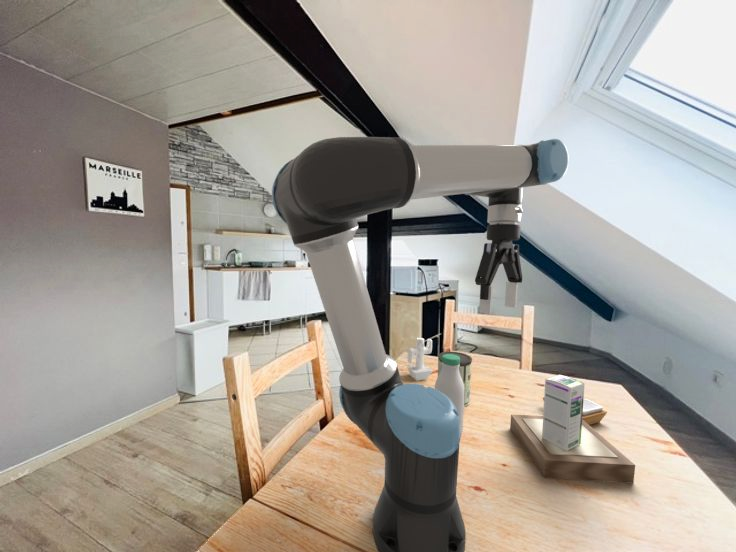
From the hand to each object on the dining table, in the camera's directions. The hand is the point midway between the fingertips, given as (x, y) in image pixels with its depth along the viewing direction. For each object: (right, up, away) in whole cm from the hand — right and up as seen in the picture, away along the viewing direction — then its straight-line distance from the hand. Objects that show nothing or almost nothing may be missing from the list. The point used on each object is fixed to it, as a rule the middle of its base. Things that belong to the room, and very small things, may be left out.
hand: (498, 310), depth 78 cm
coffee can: (-6, -31, +21) cm, 38 cm away
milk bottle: (-12, -32, +5) cm, 35 cm away
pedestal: (+14, -34, -4) cm, 36 cm away
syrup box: (+11, -30, -6) cm, 32 cm away
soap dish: (+27, -33, +13) cm, 45 cm away
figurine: (-14, -29, +38) cm, 50 cm away
